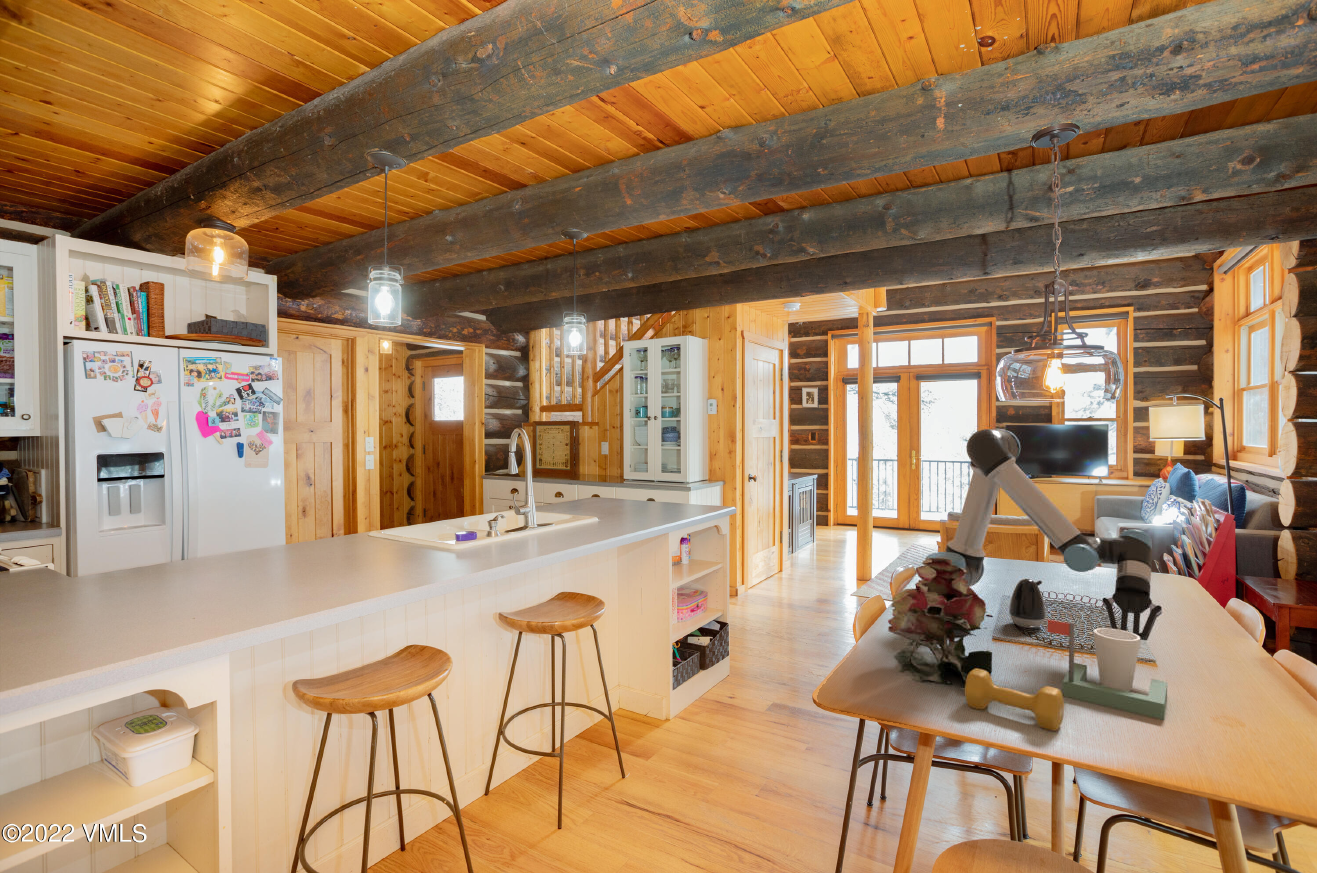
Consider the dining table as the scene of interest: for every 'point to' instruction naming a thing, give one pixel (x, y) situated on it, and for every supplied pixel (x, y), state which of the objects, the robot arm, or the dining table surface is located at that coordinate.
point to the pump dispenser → (1027, 604)
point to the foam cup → (1116, 657)
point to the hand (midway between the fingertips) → (1127, 661)
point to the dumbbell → (1016, 699)
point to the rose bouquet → (938, 622)
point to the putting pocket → (1104, 695)
